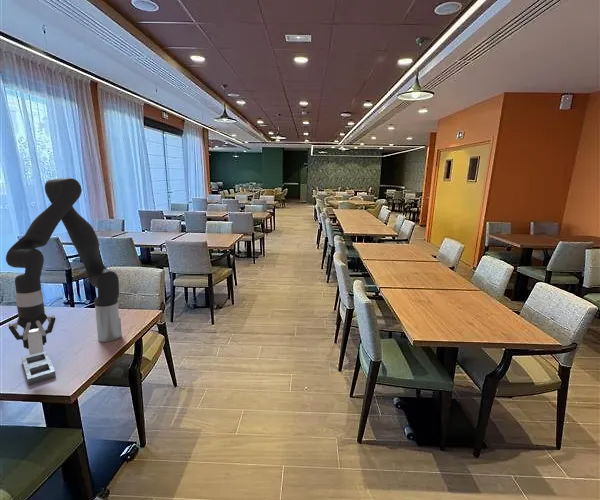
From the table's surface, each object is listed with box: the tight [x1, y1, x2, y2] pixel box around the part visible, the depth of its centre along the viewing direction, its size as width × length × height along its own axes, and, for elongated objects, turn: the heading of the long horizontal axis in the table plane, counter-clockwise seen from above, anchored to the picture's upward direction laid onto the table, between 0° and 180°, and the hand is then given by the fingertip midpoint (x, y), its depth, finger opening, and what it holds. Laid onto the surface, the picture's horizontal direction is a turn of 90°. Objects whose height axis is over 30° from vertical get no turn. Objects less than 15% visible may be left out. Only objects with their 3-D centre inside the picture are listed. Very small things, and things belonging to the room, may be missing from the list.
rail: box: [21, 350, 57, 386], centre depth 128 cm, size 8×20×2 cm, turn 44°
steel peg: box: [27, 328, 45, 355], centre depth 122 cm, size 4×4×8 cm
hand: (35, 346), depth 122 cm, fingers closed on steel peg, 4 cm apart
